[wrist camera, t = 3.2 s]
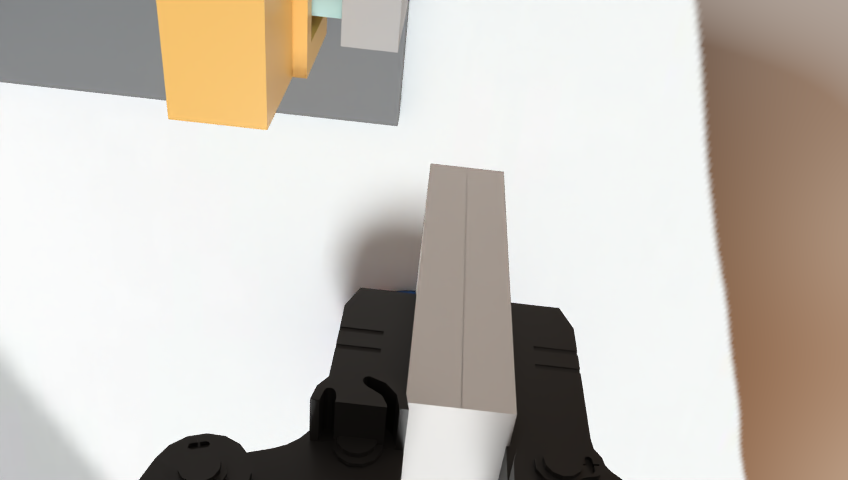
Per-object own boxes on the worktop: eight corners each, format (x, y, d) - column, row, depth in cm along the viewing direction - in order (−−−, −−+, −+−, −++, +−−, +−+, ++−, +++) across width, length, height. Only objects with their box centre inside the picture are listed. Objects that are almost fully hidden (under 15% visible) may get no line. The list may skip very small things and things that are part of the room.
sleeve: (218, -110, 27) (132, -46, 21) (329, -97, 28) (281, -29, 21) (224, 21, 30) (151, 117, 23) (326, 33, 30) (283, 131, 23)
